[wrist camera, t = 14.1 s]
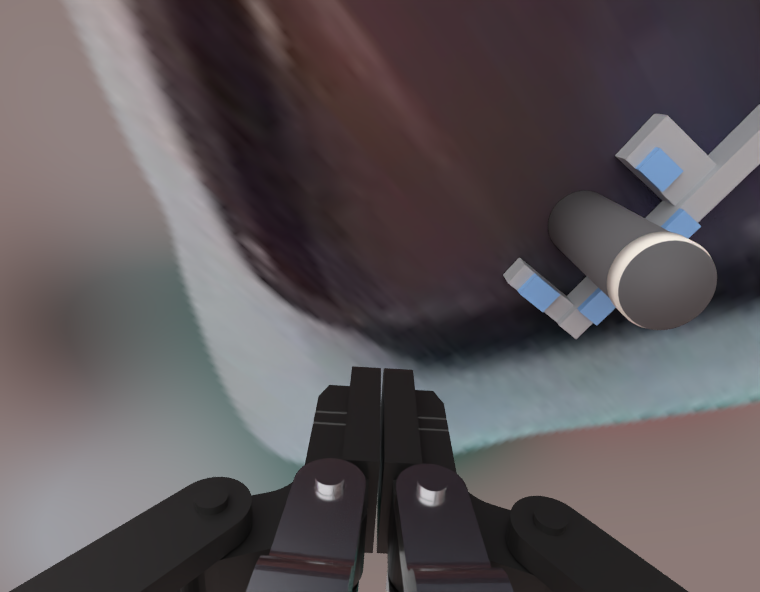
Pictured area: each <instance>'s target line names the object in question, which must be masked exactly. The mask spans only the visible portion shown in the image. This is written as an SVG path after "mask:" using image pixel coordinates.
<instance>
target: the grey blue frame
mask: <svg viewBox="0 0 760 592" xmlns="http://www.w3.org/2000/svg"><path fill="white" fill-rule="evenodd" d="M615 156H616V157H617V158H618V159H619V160H620V161H621V162H622V163H623V164H624V165H625V166H626V167H627V168H628V169H629V170H631V171H632V172H633V173H634V174H635V175H636V176H637V177H638V178H639V179H640V180H641V181H642V182H643V183H644V184H645V185H647V186H648V187H649V188H650V189H651V190H652V191H653V192H654V193H655V194H656V195H657V196H658V197H659V198H660V199H661V200H663V201H662V202H661V203H660V204H659V205H658V206H657V207H656V208H655V209H654V210H653V211H652V212H651V213H650V214H649V215H648V216H647V217H646V218H645V219H647V220H649V221H651V222H653V223H654V224H656V225H658V226H660V227H662V228H664V229H666V230H667V231H669V232H672V233H677V234H679V235H682V236H684V237H686V238H689V237H691V236H692V235H693V234H694V233H695V232H696V231H697V230H698V229H699V228H700V227H701V226H700V225H699V224H698V222H699V221H700V220H701V219H702V218H703V217H704V216H705V215H707V214H708V213H709V212H710V211H711V210H712V209H713V208H714V207H715V206H716V205H717V204H718V203H719V202H720V201H721V200H722V199H723V198H724V197H725V196H726V195H727V194H728V193H730V192H731V191H732V190H733V189H734V188H735V187H736V186H737V185H738V184H739V183H740V182H741V181H742V180H743V179H744V178H745V177H746V176H747V175H748V174H749V173H750V172H751V171H753V170H754V169H755V168H756V167H757V166H758V165H759V164H760V104H759V105H758V106H757V107H756V108H755V109H754V110H753V111H752V112H751V113H750V114H749V115H748V116H747V117H746V118H745V119H744V120H743V121H742V122H741V123H740V124H739V125H738V126H737V127H736V128H735V129H734V130H733V131H732V132H731V133H730V134H729V135H728V136H727V137H726V138H725V139H724V140H723V141H722V142H721V143H720V144H719V145H718V146H717V147H716V148H715V149H714V150H713V151H712V152H711V153H710V154H709V155H707V154H706V153H705V152H704V151H703V150H702V149H701V148H700V147H699V146H698V145H697V144H696V143H695V142H694V141H693V140H692V139H691V138H690V137H689V136H688V135H687V134H686V133H685V132H684V131H683V130H682V129H681V128H680V127H679V126H678V125H677V124H676V123H675V122H674V121H673V120H672V119H671V118H670V117H669V116H668V115H661V114H654V115H653V116H652V117H651V118H650V119H649V120H648V121H647V122H646V123H645V124H644V125H643V126H642V127H641V128H640V129H639V131H638V132H637V133H636V134H635V135H634V136H633V137H632V138H631V139H630V140H629V141H628V142H627V143H626V144H625V145H624V146H623V148H622V149H621V150H620V151H619V152H618V153H617V154H616V155H615ZM503 276H504V277H505V279H506V281H507V282H508V283H509V284H510V285H511V286H512V287H514V288H515V289H516V290H517V291H518V292H519V294H520V295H522V296H523V297H524V298H525V299H527V300H528V301H529V302H530V303H532V304H533V305H534V306H535V307H537V308H538V309H539V310H540V311H542V312H545V313H546V314H547V315H548V316H550V317H551V318H552V319H553V320H555V321H556V322H557V323H558V325H559V326H560V327H562V328H563V329H564V330H565V331H567V332H568V333H569V334H570V335H572V336H573V337H574V338H575V339H577V338H578V337H579V336H580V335H581V334H582V333H583V332H584V331H585V330H586V329H587V328H588V327H589V326H590V325H591V324H592V323H594V324H595V325H596V326H597V325H598V324H599V323H600V322H601V321H602V320H603V319H604V318H605V317H606V316H607V315H609V314H610V313H611V312H612V311H613V310H614V309H615V308H616V307H615V306H614V305H613V303H612V302H611V300H610V298H609V297H608V296H607V295H606V294H605V293H604V292H602V291H601V290H600V289H599V288H598V287H597V286H596V285H595V284H594V283H593V282H592V281H591V280H590V279H589V278H588V277H587V276H586V277H585V278H584V279H583V280H582V281H581V282H580V283H579V284H578V285H577V286H576V287H575V288H574V289H573V290H572V291H571V292H570V293H569V294H568V295H567V296H566V295H565V294H563V293H562V292H561V291H560V290H558V289H557V288H556V287H555V286H554V285H552V284H551V283H550V282H549V281H548V280H546V279H545V278H544V277H543V276H541V275H540V274H539V273H538V272H537V271H535V270H534V269H533V268H532V267H531V266H529V265H528V264H527V263H526V262H525V261H523V260H522V259H521V258H520V257H519V258H518V259H517V260H516V261H515V262H514V264H513V265H512V266H511V267H510V268H509V269H508V270H507V271H506V272H505V273H504V274H503Z"/></svg>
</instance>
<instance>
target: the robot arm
mask: <svg viewBox="0 0 760 592" xmlns="http://www.w3.org/2000/svg"><path fill="white" fill-rule="evenodd" d="M377 493H378V501H377ZM377 504H378V505H377ZM376 505H377V509H378V510H377V553H387V554H388V571H387V582H386V592H688V591H687V590H685V589H684V588H683V587H681V586H680V585H678V584H677V583H676V582H674V581H673V580H671V579H670V578H669V577H667V576H666V575H664V574H663V573H662V572H660V571H659V570H657V569H656V568H655V567H653V566H652V565H650V564H649V563H648V562H646V561H644V559H642V558H641V557H639V556H638V555H637V554H635V553H634V552H632V551H631V550H630V549H628V548H627V547H625V546H624V545H622V544H621V543H620V542H618V541H617V540H616V539H614V538H613V537H611V536H610V535H609V534H607V533H606V532H604V531H603V530H602V529H600V528H599V527H598V526H596V525H595V524H593V523H592V522H591V521H589V520H588V519H586V518H585V517H584V516H582V515H581V514H579V513H578V512H577V511H575V510H574V509H572V508H571V507H569V506H568V505H566V504H564V503H562V502H560V501H558V500H555V499H553V498H548V497H543V496H529V497H525V498H522V499H520V500H519V501H517V502H516V503H515V504H514V505H513V507H512V509H511V510H508V509H504V508H501V507H498V506H495V505H491V504H489V503H486V502H484V501H481V500H480V499H478V498H476V497H475V496H473V495H472V494H470V493H469V492H468V489H467V487H466V485H465V483H464V481H463V480H462V478H460V477H459V475H457V473H456V468H455V463H454V457H453V452H452V446H451V441H450V435H449V432H448V425H447V420H446V414H445V408H444V403H443V402H442V401H441V400H440V399H439V398H438V396H437V395H436V394H435V393H434V392H433V391H422V390H415V386H414V376H413V370H403V369H387V368H384V372H383V383H382V396H381V368H369V367H352V373H351V382H350V386H337V385H329V386H328V387H327V388H326V389H325V390H324V391H323V392H322V393H321V394H320V395H319V397H318V402H317V407H316V412H315V417H314V424H313V427H312V432H311V437H310V442H309V447H308V452H307V457H306V462H305V466H303V467H302V468H301V469H300V470H299V471H298V472H297V473H296V475H295V478H294V480H293V482H292V483H291V484H289V485H288V486H286V487H284V488H281V489H279V490H276V491H272V492H268V493H263V494H258V495H252V496H251V494H250V491H249V489H248V488H247V487H246V486H245V485H244V484H243V483H241V482H239V481H238V480H235V479H232V478H227V477H212V478H207V479H203V480H200V481H197V482H195V483H193V484H191V485H189V486H187V487H185V488H184V489H182V490H180V491H179V492H177V493H175V494H174V495H172V496H170V497H168V498H167V499H165V500H163V501H162V502H160V503H158V504H157V505H155V506H153V507H152V508H150V509H148V510H147V511H145V512H143V513H141V514H140V515H138V516H136V517H135V518H133V519H131V520H130V521H128V522H126V523H125V524H123V525H121V526H119V527H118V528H116V529H115V530H113V531H111V532H109V533H108V534H106V535H104V536H103V537H101V538H99V539H97V540H96V541H94V542H92V543H91V544H89V545H87V546H86V547H84V548H82V549H81V550H79V551H77V552H76V553H74V554H72V555H70V556H69V557H67V558H65V559H64V560H62V561H60V562H59V563H57V564H55V565H54V566H52V567H50V568H48V569H47V570H45V571H44V572H42V573H40V574H38V575H37V576H35V577H33V578H32V579H30V580H28V581H27V582H25V583H23V584H21V585H20V586H18V587H16V588H15V589H13V590H11V591H10V592H358V587H359V580H360V578H361V575H362V573H363V564H364V553H373V542H374V529H375V518H376Z"/></svg>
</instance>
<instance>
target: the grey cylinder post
mask: <svg viewBox="0 0 760 592" xmlns="http://www.w3.org/2000/svg"><path fill="white" fill-rule="evenodd" d="M548 232H549V236H550V239H551V240H552V242H553V243H554V245H555V246H556V247H557V248H558V249H559V250H560V251H561V252H562V253H563V254H564V255H565V256H567V257H568V258H569V259H570V260H571V261H572V262H573V263H574V264H575V265H576V266H577V267H578V268H579V269H580V270H581V271H582V272H583V273H584V274H585V275H586V276H587V277H588V278H589V279H590V280H591V281H592V282H593V283H594V284H595V285H596V286H597V287H598V288H599V289H600V290H601V291H602V292H604V293H605V294H606V295H607V296H608V297H609V298H610V300H611V302H612V303H613V305H614V306H615V307H616V308H617V309H618V310H619V311H620V312H621V313H622V314H623V315H624V316H625V317H626V318H627V319H628V320H629V321H631V322H632V323H634V324H636V325H637V326H640V327H643V328H647V329H652V330H667V329H672V328H676V327H679V326H681V325H684V324H686V323H688V322H689V321H691V320H692V319H694V318H695V317H696V316H698V315H699V314H700V313H701V312H702V311H703V310H704V309H705V308H706V306H707V305H708V304H709V302H710V300H711V299H712V297H713V295H714V292H715V289H716V284H717V271H716V267H715V265H714V262H713V260H712V258H711V256H710V255H709V253H708V252H707V251H706V250H705V249H704V248H703V247H702V246H700V245H699V244H697V243H695V242H693V241H691V240H690V239H688V238H686V237H684V236H682V235H679V234H677V233H672V232H669V231H667V230H666V229H664V228H662V227H660V226H658V225H656V224H654V223H653V222H651V221H649V220H647V219H645V218H643V217H641V216H640V215H638V214H636V213H634V212H632V211H630V210H628V209H626V208H625V207H623V206H621V205H619V204H617V203H615V202H613V201H612V200H610V199H608V198H606V197H604V196H602V195H600V194H598V193H596V192H593V191H577V192H574V193H571V194H569V195H567V196H566V197H564V198H563V199H561V200H560V201H559V202H558V203H557V204H556V206H555V207H554V208H553V210H552V212H551V214H550V217H549V221H548Z"/></svg>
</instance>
